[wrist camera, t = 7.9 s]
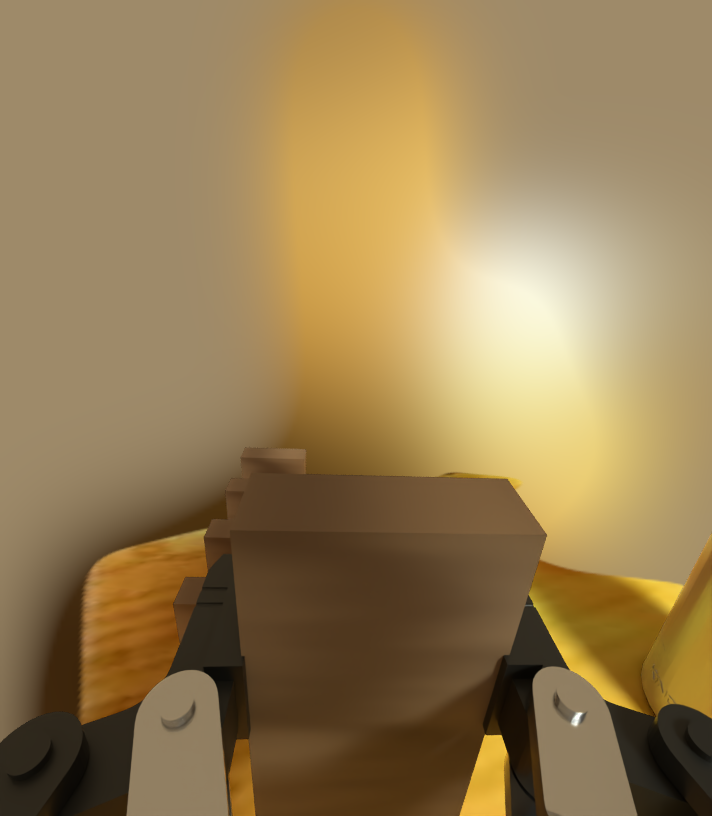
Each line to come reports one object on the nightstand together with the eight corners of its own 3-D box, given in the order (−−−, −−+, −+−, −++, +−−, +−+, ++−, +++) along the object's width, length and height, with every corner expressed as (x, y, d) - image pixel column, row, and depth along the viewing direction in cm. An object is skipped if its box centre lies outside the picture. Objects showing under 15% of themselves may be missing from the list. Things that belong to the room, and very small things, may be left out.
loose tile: (437, 762, 12) (507, 478, 8) (452, 837, 10) (546, 534, 6) (268, 765, 11) (251, 472, 7) (258, 844, 10) (230, 529, 6)
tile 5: (305, 543, 36) (306, 449, 32) (303, 556, 35) (304, 459, 31) (251, 542, 36) (245, 447, 32) (247, 555, 35) (240, 457, 31)
